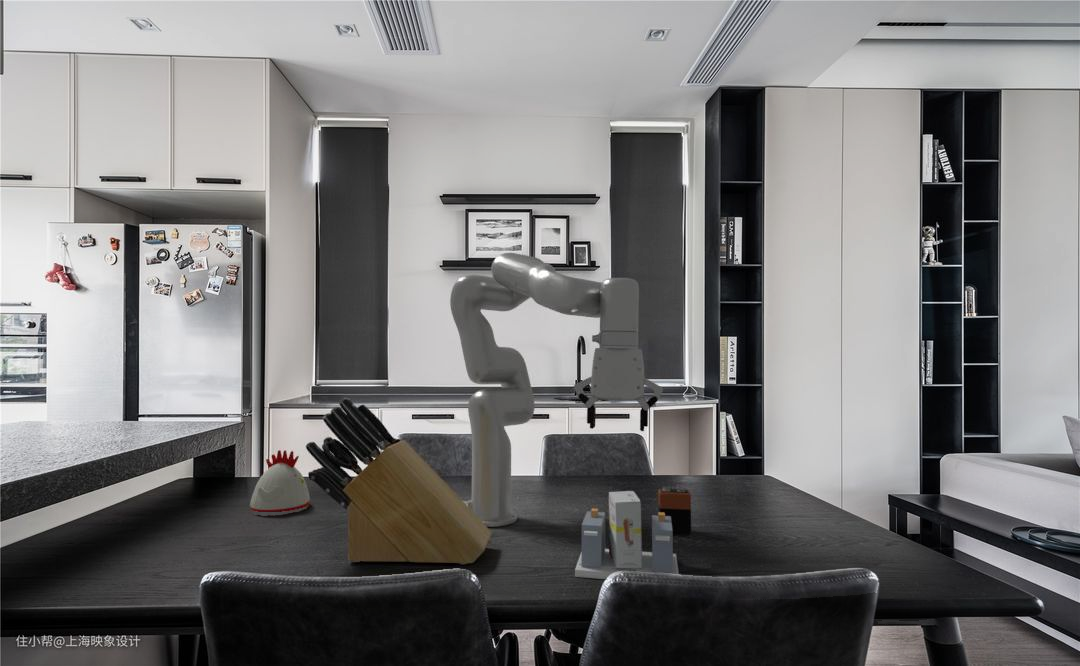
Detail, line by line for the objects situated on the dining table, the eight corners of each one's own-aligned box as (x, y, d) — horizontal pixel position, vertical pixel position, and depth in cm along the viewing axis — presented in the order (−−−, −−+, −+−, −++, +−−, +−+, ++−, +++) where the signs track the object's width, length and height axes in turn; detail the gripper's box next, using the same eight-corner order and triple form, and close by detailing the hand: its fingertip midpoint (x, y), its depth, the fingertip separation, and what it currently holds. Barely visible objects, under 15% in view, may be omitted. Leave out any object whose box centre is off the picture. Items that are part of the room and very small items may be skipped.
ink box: (607, 552, 104) (607, 490, 105) (633, 552, 104) (633, 490, 105) (615, 569, 96) (614, 501, 96) (642, 569, 96) (642, 501, 96)
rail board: (574, 576, 96) (574, 520, 96) (583, 553, 107) (583, 502, 108) (679, 585, 92) (678, 526, 93) (676, 560, 104) (675, 508, 104)
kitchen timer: (294, 516, 132) (296, 455, 133) (238, 516, 132) (240, 454, 133) (318, 502, 146) (319, 446, 147) (267, 501, 146) (269, 446, 147)
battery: (691, 535, 119) (691, 489, 119) (660, 534, 120) (659, 488, 120) (688, 529, 123) (688, 485, 124) (658, 528, 124) (657, 484, 125)
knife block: (325, 543, 113) (329, 394, 114) (492, 547, 111) (493, 396, 113) (298, 563, 102) (303, 398, 103) (484, 567, 100) (485, 399, 101)
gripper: (572, 340, 104) (570, 429, 104) (663, 341, 100) (662, 434, 100) (577, 341, 111) (576, 424, 111) (663, 342, 108) (662, 428, 107)
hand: (617, 428), depth 105 cm, fingers open, 9 cm apart
